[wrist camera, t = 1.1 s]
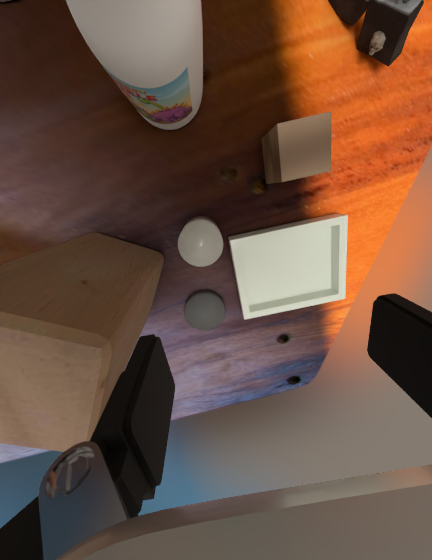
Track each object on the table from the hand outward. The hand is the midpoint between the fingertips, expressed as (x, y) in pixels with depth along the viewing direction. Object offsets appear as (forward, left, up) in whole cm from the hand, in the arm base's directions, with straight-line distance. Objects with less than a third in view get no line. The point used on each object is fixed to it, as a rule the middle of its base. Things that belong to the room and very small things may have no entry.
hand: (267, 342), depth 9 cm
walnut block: (-8, +9, -22) cm, 25 cm away
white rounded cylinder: (-1, -3, -22) cm, 22 cm away
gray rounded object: (+10, -5, -22) cm, 25 cm away
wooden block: (+2, -15, -22) cm, 27 cm away
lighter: (-18, +17, -22) cm, 33 cm away
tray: (+6, +8, -22) cm, 24 cm away
